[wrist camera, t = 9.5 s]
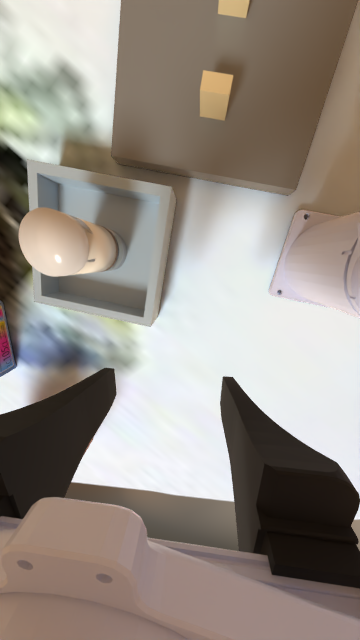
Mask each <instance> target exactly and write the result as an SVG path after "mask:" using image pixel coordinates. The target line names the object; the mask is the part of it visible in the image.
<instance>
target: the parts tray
mask: <svg viewBox="0 0 360 640" xmlns="http://www.w3.org/2000/svg"><path fill="white" fill-rule="evenodd" d="M27 169H28V189H29V209H30V211H31V210H33V209H36V208H41V207H46V208H51V209H54V210H57V211H60V212H63V213H65V214H68V215H71V216H74V217H77V218H80V219H82V220H85V221H88V222H91V223H94V224H97V225H100V226H103V227H105V228H108V229H111V230H113V231H115V232H117V233H118V234H119V235H120V236H121V237H122V238H123V240H124V242H125V244H126V248H127V256H126V260H125V262H124V263H123V265H122V266H121V267H120V268H118V269H116V270H112V271H104V272H94V273H85V274H76V275H67V276H58V277H53V276H48V275H45V274H43V273H41V272H39V271H38V270H36V269H35V268H34V267H33V266H32V269H33V289H34V302H37V303H42V304H47V305H51V306H56V307H61V308H65V309H70V310H75V311H79V312H84V313H88V314H93V315H98V316H102V317H107V318H112V319H116V320H121V321H126V322H130V323H135V324H139V325H144V326H149V327H151V325H152V324H153V323H154V321H155V320H156V319H157V317H158V312H159V306H160V300H161V294H162V288H163V281H164V275H165V269H166V263H167V257H168V251H169V244H170V238H171V232H172V226H173V220H174V214H175V207H176V201H177V199H176V197H175V194H174V191H173V189H172V187H171V186H165V185H160V184H155V183H149V182H144V181H139V180H134V179H128V178H123V177H118V176H112V175H107V174H102V173H97V172H91V171H86V170H81V169H75V168H70V167H65V166H60V165H54V164H49V163H44V162H38V161H33V160H28V159H27Z"/></svg>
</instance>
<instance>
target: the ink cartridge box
mask: <svg viewBox="0 0 360 640" xmlns="http://www.w3.org/2000/svg"><path fill="white" fill-rule="evenodd" d="M15 368H16V364H15V360H14V355H13V350H12V345H11V340H10V335H9V330H8V325H7V320H6V315H5V309H4V305H3V302H2V301H1V300H0V377H1V376H3V375H5V374H6V373H8V372H9V371H11V370H13V369H15Z"/></svg>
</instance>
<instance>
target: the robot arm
mask: <svg viewBox="0 0 360 640" xmlns="http://www.w3.org/2000/svg"><path fill="white" fill-rule="evenodd" d="M305 214H306V215H307V216H308V218H307V220H305V219H304V215H305ZM278 290H281V293H280V294H277V291H278ZM269 294H270V295H272V296H276V297H280V298H285V299H290V300H295V301H300V302H305V303H310V304H315V305H319V306H324V307H329V308H333V309H336V310H339V311H341V312H344V313H347V314H350V315H352V316H355V317H358V318H360V211H359V212H356V213H352V214H349V215H346V216H342V217H341V216H335V215H330V214H325V213H320V212H314V211H309V210H304V209H301V210H299V211H297V212H296V213H295V215H294V217H293V220H292V223H291V226H290V229H289V232H288V235H287V238H286V241H285V244H284V247H283V250H282V253H281V256H280V258H279V261H278V264H277V267H276V270H275V273H274V276H273V279H272V282H271V285H270V288H269ZM115 397H116V384H115V374H114V369H112V368H104V369H102V370H100V371H98V372H97V373H95V374H93V375H91V376H90V377H88V378H86V379H84V380H83V381H81V382H79V383H77V384H75V385H73V386H72V387H70V388H68V389H66V390H64V391H62V392H60V393H58V394H56V395H53V396H51V397H49V398H47V399H44V400H42V401H39V402H37V403H34V404H31V405H29V406H26V407H23V408H20V409H17V410H14V411H11V412H8V413H4V414H1V415H0V640H360V551H359V549H358V547H357V545H356V544H358V538H357V536H356V534H355V533H354V531H353V529H352V527H351V524H352V522H353V520H354V518H355V515H356V513H357V511H358V508H359V504H360V498H359V494H358V492H357V491H356V489H355V488H354V486H353V485H352V483H351V481H350V480H349V478H348V477H347V475H346V474H345V473H344V471H343V470H342V469H341V467H340V466H339V465H338V463H337V462H335V461H333V460H331V459H330V458H328V457H326V456H324V455H322V454H321V453H319V452H317V451H315V450H314V449H312V448H310V447H309V446H307V445H306V444H304V443H303V442H301V441H300V440H298V439H297V438H295V437H294V436H292V435H291V434H289V433H288V432H287V431H285V430H284V429H283V428H281V427H280V426H279V425H278V424H276V423H275V422H274V421H273V420H272V419H270V418H269V417H268V416H267V415H266V414H265V413H264V412H263V411H262V410H261V409H260V408H259V407H258V406H257V405H256V404H255V403H254V402H253V401H252V400H251V399H250V398H249V397H248V395H247V394H246V393H245V392H244V391H243V390H242V388H241V387H240V386H239V384H238V383H237V382H236V381H235V379H234V378H233V377H223V381H222V391H221V401H220V406H221V417H222V423H223V428H224V433H225V438H226V443H227V448H228V453H229V458H230V464H231V473H232V482H233V492H234V502H235V512H236V522H237V533H238V546H239V551H234V550H226V549H220V548H213V547H206V546H199V545H193V544H186V543H180V542H172V541H166V540H160V539H153V538H147V530H146V527H145V525H144V523H143V521H142V519H141V517H140V516H138V515H137V514H136V513H135V512H133V511H132V510H131V509H128V508H124V507H121V506H118V505H111V504H104V503H96V502H88V501H82V500H74V499H67V498H64V497H65V494H66V492H67V489H68V487H69V485H70V483H71V481H72V478H73V476H74V474H75V472H76V470H77V467H78V465H79V463H80V461H81V459H82V457H83V455H84V453H85V451H86V449H87V447H88V445H89V443H90V441H91V440H92V438H93V436H94V435H95V433H96V431H97V430H98V428H99V427H100V425H101V423H102V422H103V420H104V418H105V417H106V415H107V413H108V412H109V410H110V408H111V406H112V404H113V401H114V399H115Z"/></svg>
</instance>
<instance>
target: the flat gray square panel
mask: <svg viewBox="0 0 360 640" xmlns="http://www.w3.org/2000/svg"><path fill="white" fill-rule="evenodd" d="M357 2H358V0H121V10H120V26H119V42H118V57H117V73H116V89H115V104H114V120H113V136H112V151H111V156H112V157H113V158H114V160H115V161H116V162H117V163H118V164H122V165H127V166H132V167H138V168H143V169H148V170H154V171H159V172H164V173H170V174H175V175H180V176H186V177H191V178H197V179H202V180H207V181H213V182H218V183H223V184H229V185H234V186H239V187H245V188H250V189H255V190H261V191H266V192H271V193H277V194H282V195H287V196H288V195H290V194H291V193H292V192H294V191H295V190H296V188H297V185H298V182H299V179H300V176H301V173H302V170H303V167H304V164H305V161H306V158H307V155H308V151H309V148H310V145H311V142H312V139H313V136H314V133H315V130H316V127H317V124H318V121H319V118H320V115H321V112H322V109H323V106H324V103H325V100H326V97H327V94H328V91H329V88H330V85H331V81H332V78H333V75H334V72H335V69H336V66H337V63H338V60H339V57H340V54H341V51H342V48H343V45H344V42H345V39H346V36H347V33H348V30H349V27H350V24H351V21H352V18H353V15H354V12H355V8H356V5H357Z"/></svg>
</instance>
